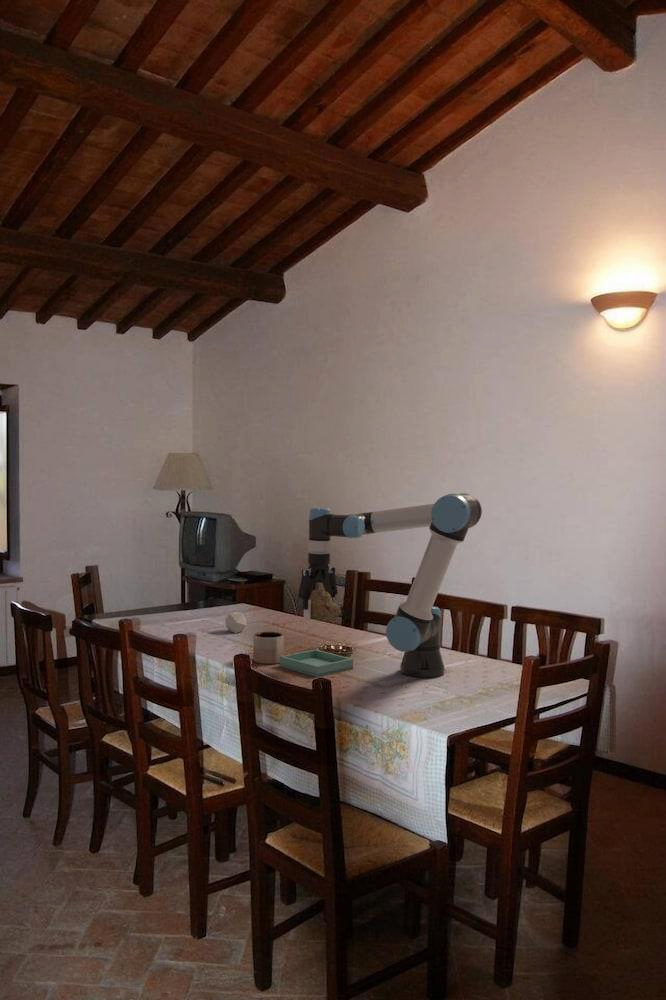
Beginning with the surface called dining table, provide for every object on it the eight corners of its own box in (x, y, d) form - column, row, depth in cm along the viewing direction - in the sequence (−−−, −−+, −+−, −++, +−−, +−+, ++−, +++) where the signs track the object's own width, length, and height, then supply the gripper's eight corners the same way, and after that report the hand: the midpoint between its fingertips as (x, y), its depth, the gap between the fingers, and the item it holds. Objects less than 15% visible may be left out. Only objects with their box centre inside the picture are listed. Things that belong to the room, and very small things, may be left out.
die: (250, 634, 346) (250, 612, 351) (239, 626, 339) (238, 604, 345) (233, 639, 349) (232, 618, 354) (221, 632, 342) (221, 610, 348)
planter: (271, 666, 290) (272, 639, 290) (246, 661, 296) (247, 635, 296) (289, 660, 300) (290, 634, 299) (265, 656, 305) (265, 630, 305)
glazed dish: (353, 669, 289) (353, 659, 289) (317, 677, 277) (317, 666, 277) (315, 658, 302) (315, 649, 302) (279, 666, 290) (279, 656, 290)
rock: (308, 604, 281) (329, 587, 285) (291, 601, 292) (312, 585, 296) (323, 630, 284) (344, 613, 288) (306, 627, 294) (327, 610, 299)
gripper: (334, 549, 298) (332, 612, 299) (288, 553, 283) (286, 619, 284) (349, 551, 293) (347, 615, 294) (302, 555, 278) (301, 622, 279)
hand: (317, 617), depth 289 cm, fingers closed on rock, 9 cm apart
